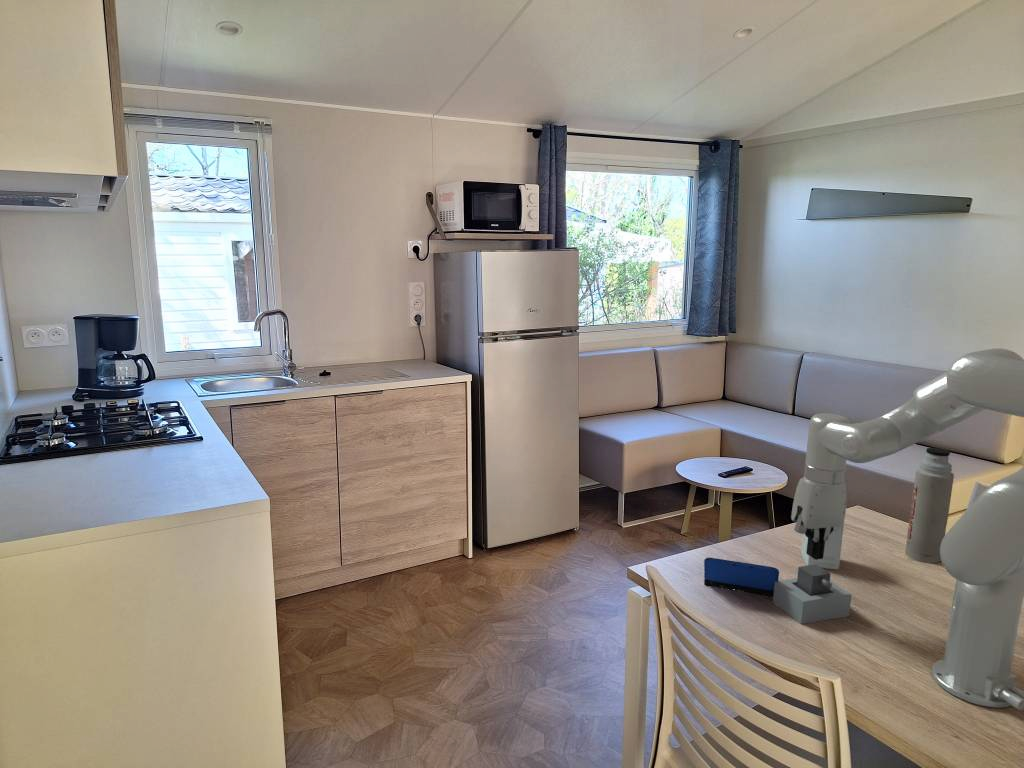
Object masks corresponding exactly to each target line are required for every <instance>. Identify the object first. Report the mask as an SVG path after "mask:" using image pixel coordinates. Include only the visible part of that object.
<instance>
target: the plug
mask: <svg viewBox="0 0 1024 768" xmlns="http://www.w3.org/2000/svg"><path fill="white" fill-rule="evenodd" d="M797 568H798V569H797V577H796V578H797V587H798V588H799V589H801V590H802V591H804V592H805V593H807V594H808V595H809V596H815V595H821V594H828V592H829V588H831V587H832V584H831V583H830V581H831V573H830V572H829V571H827V570H826V569H825V568H821V567H819V566H818V565H816V564H815V565H808V566H807V565H802V566H801V565H800V566H798V567H797Z"/></svg>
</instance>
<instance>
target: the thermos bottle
mask: <svg viewBox="0 0 1024 768" xmlns="http://www.w3.org/2000/svg"><path fill="white" fill-rule="evenodd" d="M950 454H951V452H950V450H947V449H943V448H938V447H927V448H926V453H925V457H924V459H920V463H919V467H917V468H916V469H915V475H914V482H913V483H914V484H913V490H912V491H913V492H912V498H911V506H910V514H909V521H908V528H907V534H906V535H907V536H906V545H905V550H904V553H905V555H906V556H908V558H911V559H913V560H915V561H918V562H922V563H926V562H928V563H929V564H930V563H931V564H936V563H937V562H938V563H940V561H941V558H940V545H941V542H942V540H943V538H944V536H945V535H946V533H947V531H946V530H947V525H948V520H949V512H950V505H951V498H952V491H953V485H954V477H955V475H954V473H953V472H952V471H953V469H952V468H953V466H952V464H951V462H949V457H950ZM941 562H942V561H941ZM928 563H927V564H928Z"/></svg>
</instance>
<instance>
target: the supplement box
mask: <svg viewBox="0 0 1024 768" xmlns="http://www.w3.org/2000/svg"><path fill="white" fill-rule="evenodd" d="M844 526H845V521H844V522H843V523H842V524H841V528H840V529H837V530H834V531H833V532H832V533H831V534H830V535H829V538H828V540H827V541H825V547H824V555H823V559H818V560H815V559H814V558H812V557H811V556H809V555H807V553H806V551H807V542H808V537H806V536H805V534H802V542H801V543H802V544H801V552H800V553H801V554H800V555H801V556H802V558H803V560H804V563H805V564H806V566H808V565H815V564H816V565H818V566H819V567H821V568H822V569H828V570H829V569H830V570H831V569H832V570H839V569H840V565H841V564H840V562H841V561H840V560H841V554H842V543H843V534H844Z"/></svg>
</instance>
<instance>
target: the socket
mask: <svg viewBox="0 0 1024 768" xmlns="http://www.w3.org/2000/svg"><path fill="white" fill-rule="evenodd" d="M797 578H798V577H796V578H795V577H794V578H788V579H781V580H778V581H775V585H774V595H773V598H772V603H773V604H774V605H776V606H777V607H779V608H780V609H781V610H782V611H783V612H784V613H786V614H787V615H789V616H790V617H791V618H793V620H795V621H796V622H797V623H799V624H800V625H804V624H808V623H815V622H821V621H828V620H832V619H833V620H834V619H841V618H845V617H849V616H850V611H851V610H850V609H851V602H852V596H853V595H852V593H850V592H849V591H848V590H846V589H844V588H842V587H841V586H840V585H838V584H836V583H835V582H834V581H832V580H830V583H831V584H832V587H831V588H829V592H828V594H821V595H815V596H809V595H808V594H807V593H805V592H804V591H802V590H801V589H799V588H798V587H797Z"/></svg>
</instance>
